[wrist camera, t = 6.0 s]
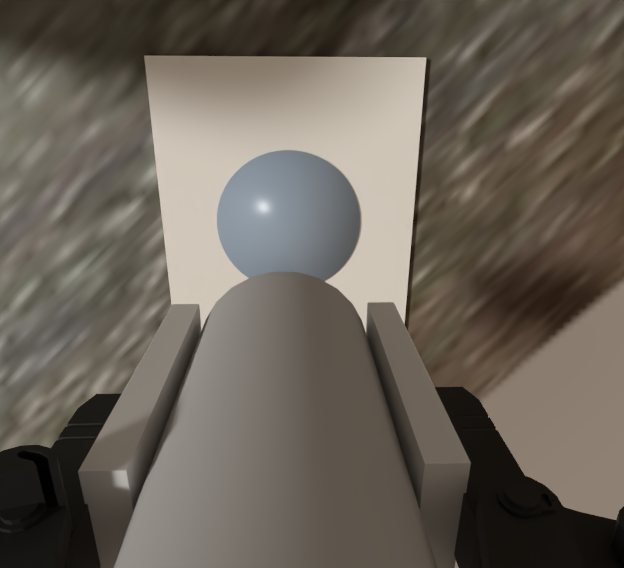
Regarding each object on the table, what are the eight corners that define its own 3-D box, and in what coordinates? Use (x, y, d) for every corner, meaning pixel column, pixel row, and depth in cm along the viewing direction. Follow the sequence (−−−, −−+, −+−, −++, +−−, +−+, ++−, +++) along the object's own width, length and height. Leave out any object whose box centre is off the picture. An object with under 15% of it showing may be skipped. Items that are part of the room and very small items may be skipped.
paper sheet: (145, 55, 24) (143, 55, 24) (424, 58, 25) (426, 57, 24) (178, 355, 31) (177, 358, 30) (401, 352, 31) (402, 355, 31)
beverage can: (357, 255, 14) (621, 910, 3) (368, 396, 16) (554, 1142, 5) (190, 273, 14) (-214, 998, 3) (219, 413, 16) (42, 1198, 5)
